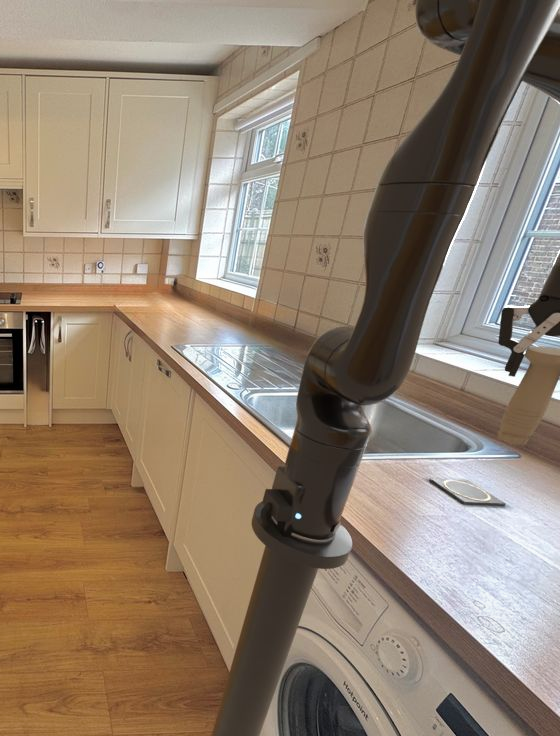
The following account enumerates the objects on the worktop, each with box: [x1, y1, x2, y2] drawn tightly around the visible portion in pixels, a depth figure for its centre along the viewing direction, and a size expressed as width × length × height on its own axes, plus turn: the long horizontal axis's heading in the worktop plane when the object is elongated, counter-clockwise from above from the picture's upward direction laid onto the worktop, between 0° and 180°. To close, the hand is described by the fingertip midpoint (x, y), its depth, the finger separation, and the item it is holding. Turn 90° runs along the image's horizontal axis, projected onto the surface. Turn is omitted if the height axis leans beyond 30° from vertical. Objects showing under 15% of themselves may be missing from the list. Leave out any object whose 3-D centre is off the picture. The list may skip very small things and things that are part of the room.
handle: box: [496, 346, 560, 446], centre depth 63 cm, size 5×6×15 cm
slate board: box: [429, 478, 506, 507], centre depth 78 cm, size 8×8×1 cm
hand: (540, 380), depth 62 cm, fingers closed on handle, 5 cm apart
